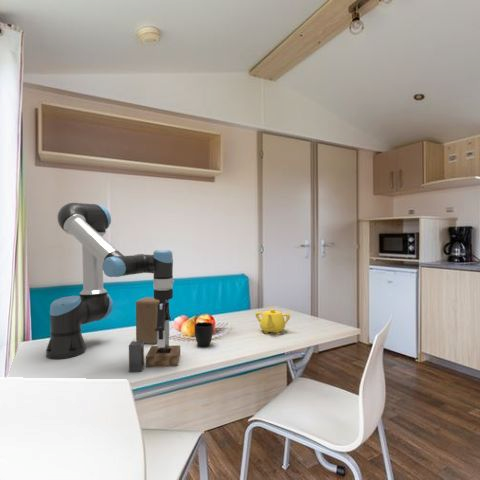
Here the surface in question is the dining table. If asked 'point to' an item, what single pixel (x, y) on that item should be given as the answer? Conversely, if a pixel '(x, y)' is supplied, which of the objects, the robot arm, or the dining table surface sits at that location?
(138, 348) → the square bit
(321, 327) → the dining table surface
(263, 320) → the teapot
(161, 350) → the bar
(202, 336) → the mug
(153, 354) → the bore block
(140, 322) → the wooden block
